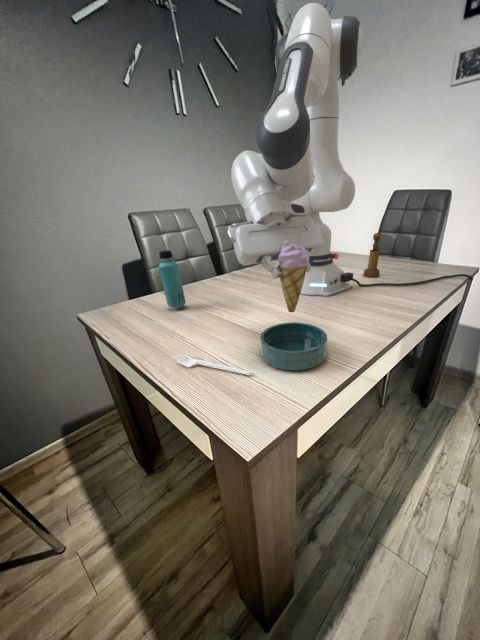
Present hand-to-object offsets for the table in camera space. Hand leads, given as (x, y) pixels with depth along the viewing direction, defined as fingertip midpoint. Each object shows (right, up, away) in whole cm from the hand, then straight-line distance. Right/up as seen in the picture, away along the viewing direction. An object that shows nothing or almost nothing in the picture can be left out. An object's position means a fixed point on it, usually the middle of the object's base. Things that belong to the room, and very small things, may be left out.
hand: (293, 273), depth 57 cm
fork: (-18, -20, +6) cm, 28 cm away
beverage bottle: (-37, -1, +42) cm, 56 cm away
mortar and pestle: (+43, +17, +66) cm, 81 cm away
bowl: (+1, -17, +10) cm, 20 cm away
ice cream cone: (0, -7, +5) cm, 9 cm away
